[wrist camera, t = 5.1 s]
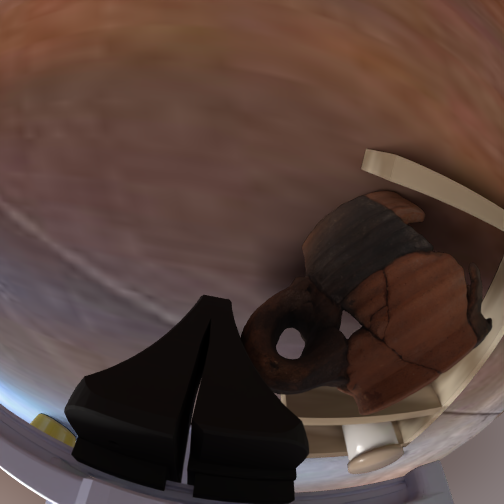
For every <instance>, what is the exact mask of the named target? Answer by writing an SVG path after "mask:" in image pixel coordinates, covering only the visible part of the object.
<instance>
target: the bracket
mask: <svg viewBox="0 0 504 504" xmlns="http://www.w3.org/2000/svg"><path fill="white" fill-rule="evenodd" d="M361 169H362V170H364V171H367V172H369V173H372V174H374V175H377V176H379V177H382V178H384V179H386V180H389V181H391V182H394V183H397V184H400V185H402V186H405V187H408V188H410V189H413V190H416V191H418V192H421V193H423V194H426V195H428V196H431V197H433V198H435V199H438V200H440V201H442V202H445V203H447V204H449V205H451V206H454V207H456V208H458V209H460V210H462V211H465V212H467V213H469V214H471V215H473V216H475V217H477V218H479V219H481V220H483V221H485V222H487V223H489V224H491V225H493V226H495V227H497V228H498V229H500V230H502V231H504V209H502V208H500V207H499V206H497V205H496V204H494V203H492V202H491V201H489V200H487V199H486V198H484V197H482V196H481V195H479V194H477V193H475V192H473V191H472V190H470V189H468V188H466V187H464V186H462V185H461V184H459V183H457V182H455V181H453V180H451V179H449V178H447V177H445V176H443V175H441V174H439V173H437V172H435V171H432V170H430V169H428V168H426V167H424V166H421V165H419V164H417V163H415V162H412V161H410V160H408V159H405V158H403V157H400V156H398V155H395V154H390V153H385V152H380V151H375V150H370V149H366V152H365V156H364V160H363V164H362V168H361ZM481 313H482V315H483V316H484V318H485V319H488V318H491V319H492V329H491V331H490V332H489V334H488V335H487V336H486V337H485V339H484V340H483V341H482V343H481V344H480V345H478V346H477V347H476V348H475V349H473V350H472V351H471V352H470V353H469V354H468V355H466V356H465V357H464V358H463V359H462V360H461V361H460V362H458V363H457V364H456V365H454V366H453V367H452V368H451V369H449V370H448V371H447V372H445V373H442V374H441V375H440V376H439V377H438V378H437V379H436V380H434V381H433V382H432V383H430V384H429V385H427V386H425V387H423V388H422V389H421V390H419V391H417V392H416V393H414V394H412V395H410V396H409V397H407V398H405V399H403V400H401V401H400V402H398V403H396V404H394V405H392V406H390V407H388V408H386V409H383V410H381V411H378V412H375V413H372V414H369V415H361V414H360V413H359V408H358V405H357V403H356V401H355V399H354V397H353V396H350V395H349V394H345V393H343V392H341V391H339V390H338V389H337V387H329V386H321V387H318V388H315V389H312V390H309V391H307V392H304V393H299V394H292V395H282V394H281V402H282V403H283V404H284V405H285V406H286V407H287V408H288V409H289V410H290V411H292V412H293V413H294V414H295V415H296V416H297V417H298V418H299V419H300V420H302V422H303V425H304V428H305V431H306V435H307V438H308V442H309V455H308V456H307V458H321V457H337V456H348V452H347V448H346V443H345V438H344V433H343V429H342V425H353V424H368V423H379V422H388V421H391V423H392V426H393V428H394V431H395V434H396V437H397V441H398V444H401V445H402V447H406V446H407V445H408V444H409V443H411V442H412V441H413V440H414V439H415V438H416V437H418V436H419V435H420V434H421V433H422V432H423V431H424V430H425V429H426V428H427V427H428V426H429V425H430V424H432V423H433V422H434V421H435V420H436V419H437V418H438V417H439V416H440V415H441V414H442V413H443V411H444V410H445V409H446V408H447V407H448V406H449V405H450V404H451V403H452V402H453V401H454V400H455V399H456V397H457V396H458V395H459V394H460V393H461V392H462V391H463V389H464V388H465V387H466V386H467V385H468V383H469V382H470V381H471V380H472V378H473V377H474V376H475V375H476V373H477V372H478V371H479V369H480V368H481V367H482V365H483V364H484V363H485V361H486V360H487V359H488V357H489V356H490V354H491V353H492V351H493V350H494V349H495V347H496V346H497V344H498V342H499V341H500V339H501V338H502V336H503V335H504V256H503V259H502V261H501V264H500V266H499V268H498V271H497V273H496V275H495V277H494V279H493V282H492V284H491V286H490V288H489V290H488V292H487V294H486V296H485V298H484V300H483V302H482V304H481Z"/></svg>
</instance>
